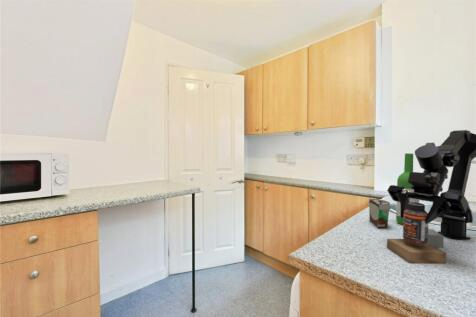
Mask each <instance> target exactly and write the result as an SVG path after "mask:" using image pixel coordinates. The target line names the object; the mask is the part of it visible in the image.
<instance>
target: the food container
mask: <svg viewBox="0 0 476 317" xmlns="http://www.w3.org/2000/svg"><path fill="white" fill-rule="evenodd" d="M368 205H369V210H368V212H369V216H368V217H369V219H368V220H369V223H371V224H372V226H374V227H376V229H379V230H380V229H387V228H388V226H389V225H388V224H389V215H390V210H391V209H392V205H391V202H390V201H387V200H383V199H379V198H368Z"/></svg>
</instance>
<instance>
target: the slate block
mask: <svg viewBox="0 0 476 317" xmlns="http://www.w3.org/2000/svg"><path fill="white" fill-rule="evenodd" d="M444 237H445V236H444V235H442V234H440V233H438V231H436V230H434V229H433V228H432V229H431V228H428V242H427V243H428V244H430V245H432V246H434V247H436V248H441V249H442V248H444Z"/></svg>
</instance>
